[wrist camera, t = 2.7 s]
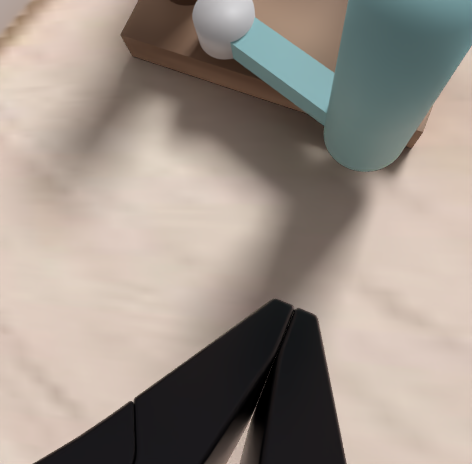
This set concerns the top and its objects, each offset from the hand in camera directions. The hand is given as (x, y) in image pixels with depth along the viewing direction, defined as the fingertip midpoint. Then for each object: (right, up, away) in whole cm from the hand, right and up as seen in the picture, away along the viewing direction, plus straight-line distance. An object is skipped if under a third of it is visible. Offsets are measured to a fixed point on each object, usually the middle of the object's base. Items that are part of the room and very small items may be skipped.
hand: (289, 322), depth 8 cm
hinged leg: (+1, +7, +9) cm, 12 cm away
